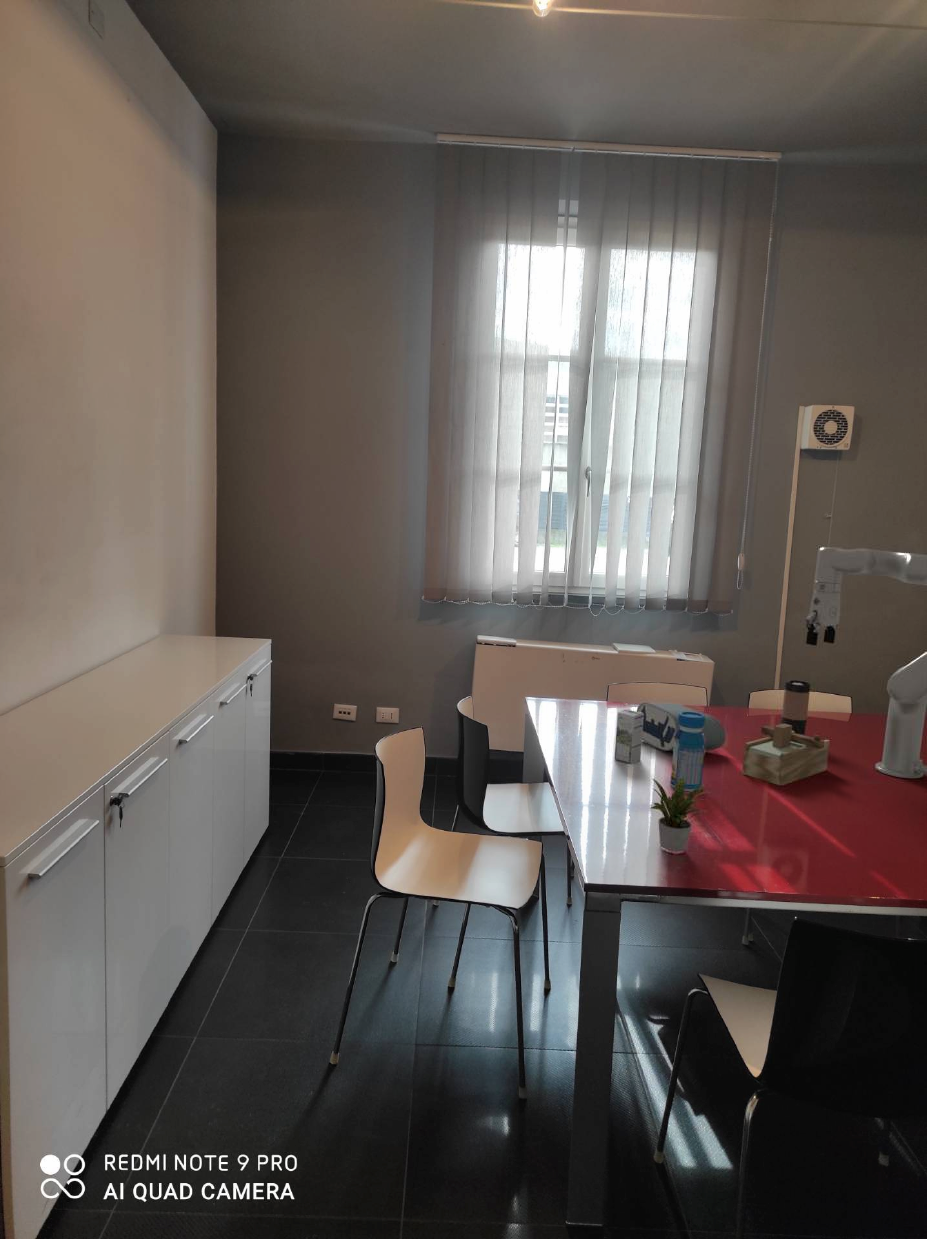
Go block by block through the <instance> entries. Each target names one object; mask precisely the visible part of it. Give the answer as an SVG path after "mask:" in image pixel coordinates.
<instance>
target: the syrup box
mask: <svg viewBox="0 0 927 1239" xmlns="http://www.w3.org/2000/svg"><path fill="white" fill-rule="evenodd" d="M636 711H637V710H636ZM636 711H635V710H632V709H628V708H627V709H623V710H620V711H617V718H616V732H615V747H614V759H613V760H616V761H619V762H623V763H625V764H626V763H627V764H629V765H631V764H635V763H637V762H639V761H641V756H642V741H643V740H642V731H643V719H644V713H641V712H636Z"/></svg>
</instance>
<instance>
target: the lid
mask: <svg viewBox="0 0 927 1239" xmlns="http://www.w3.org/2000/svg"><path fill="white" fill-rule="evenodd" d="M773 728H774V736H773V741H769V742H765V743H762V744H758V745H755V746H751V747H749V751H750V752H754V753H757V754H761V755H764V756H768V757H771V758H775V759H778V760H780V758H781V753H783V752H786V751H790V750H793V749H796V748H800V747H803V746H806V745H803V744H799V743H795V742H791V733H792V725H788V724H781V723H780V724H777V725H774V727H773Z"/></svg>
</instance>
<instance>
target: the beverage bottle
mask: <svg viewBox="0 0 927 1239" xmlns="http://www.w3.org/2000/svg"><path fill="white" fill-rule="evenodd" d="M678 724H679V726H680V728H679V729H678V730H677V732H676V734H675V736H674V740H675V743H674V744H673V751H672V764H671V765H672V766H671V776H670V782H669V783H670V786H671V787H672V788H673V789H675V785H674V780H675V782H676V785H677V784H678V781H679V780H680V779H681V778H682V777H683V778H684V782H685V790H684V792H691V791H693V790H694V789H696V788H697V787H699V786H702V785H703V772H704V769H703V768H704V760H705V754H706V751H705V747H704V744H705V743H706V739H705V735H704V733H703V731H702V730H701V729H703V728H704V724H705V716H704V715H703V714H700V713H696V712H681V713H679V719H678ZM673 778H674V780H673Z"/></svg>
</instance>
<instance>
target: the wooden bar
mask: <svg viewBox="0 0 927 1239" xmlns="http://www.w3.org/2000/svg"><path fill="white" fill-rule="evenodd" d="M760 734H763V735H765V736H768V737H769V736H774V727H773V726H768V725H764V726H761V730H760ZM821 737H822V736H821V735H818V734H815V735H814V737H812V736H807V735H805V736H804V735H800V734H797V733H793V732H792V733H791V742H795V743H799V744H803V745H806V746H810V747H814V748H817V749H821V748H824V740H825V739H824V740H823V739H822V738H821Z"/></svg>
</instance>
